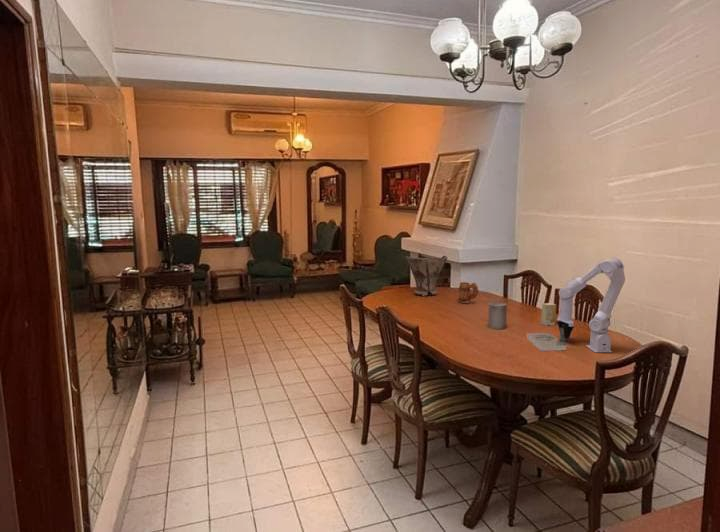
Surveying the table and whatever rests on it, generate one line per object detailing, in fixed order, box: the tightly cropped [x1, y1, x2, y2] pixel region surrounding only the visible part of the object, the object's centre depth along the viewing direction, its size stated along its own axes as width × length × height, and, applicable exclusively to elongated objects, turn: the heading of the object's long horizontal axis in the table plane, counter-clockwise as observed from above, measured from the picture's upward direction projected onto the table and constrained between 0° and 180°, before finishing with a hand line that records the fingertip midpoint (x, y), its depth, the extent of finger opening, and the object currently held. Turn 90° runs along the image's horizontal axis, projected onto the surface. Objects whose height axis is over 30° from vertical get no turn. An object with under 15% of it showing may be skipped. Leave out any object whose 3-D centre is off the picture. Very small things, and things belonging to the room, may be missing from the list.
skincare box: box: [540, 302, 557, 327], centre depth 258 cm, size 6×4×12 cm
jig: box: [526, 332, 567, 352], centre depth 226 cm, size 20×12×2 cm, turn 178°
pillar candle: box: [488, 301, 508, 330], centre depth 255 cm, size 10×10×15 cm
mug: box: [458, 281, 479, 304], centre depth 312 cm, size 15×8×15 cm, turn 42°
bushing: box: [559, 327, 570, 343], centre depth 229 cm, size 4×4×7 cm
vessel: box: [405, 255, 448, 297], centre depth 341 cm, size 30×27×30 cm
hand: (564, 336), depth 229 cm, fingers closed on bushing, 4 cm apart
